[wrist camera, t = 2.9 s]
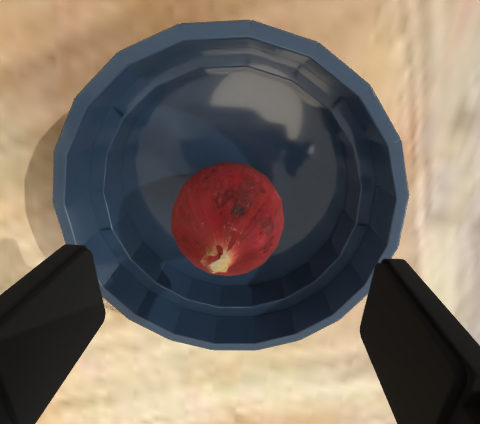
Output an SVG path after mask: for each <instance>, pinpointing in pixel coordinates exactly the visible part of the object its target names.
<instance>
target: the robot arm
mask: <svg viewBox="0 0 480 424" xmlns="http://www.w3.org/2000/svg"><path fill="white" fill-rule="evenodd" d="M104 319H105V308H104V304H103V299H102V295H101V290H100V286H99V281H98V277H97V272H96V268H95V264H94V259H93V255H92V252H91V250H88V249H87V247H86V246H84V245H73V244H65V245H64V246H62V247H61V248H59V249H58V250H57V251H56V252H54V253H53V254H52V255H51V256H49V257H48V258H47V259H46V260H44V261H43V262H42V263H40V264H39V265H38V266H37V267H35V268H34V269H33V270H32V271H30V272H29V273H28V274H27V275H25V276H24V277H23V278H21V279H20V280H19V281H18V282H16V283H15V284H14V285H13V286H11V287H10V288H9V289H8V290H6V291H5V292H4V293H2V294H1V295H0V424H35V423H36V422H37V420H38V419H39V417H40V416H41V415H42V413H43V412H44V410H45V409H46V407H47V406H48V404H49V403H50V401H51V400H52V398H53V397H54V395H55V394H56V392H57V391H58V389H59V388H60V386H61V385H62V383H63V382H64V380H65V379H66V377H67V376H68V374H69V373H70V371H71V370H72V368H73V367H74V365H75V364H76V362H77V361H78V359H79V358H80V356H81V355H82V353H83V352H84V350H85V349H86V347H87V346H88V344H89V343H90V341H91V340H92V338H93V337H94V335H95V334H96V333H97V331H98V330H99V328H100V327H101V325H102V324H103V322H104ZM360 334H361V338H362V341H363V343H364V345H365V348H366V350H367V353H368V355H369V357H370V360H371V362H372V364H373V367H374V369H375V372H376V374H377V376H378V379H379V381H380V384H381V386H382V388H383V391H384V393H385V395H386V398H387V400H388V403H389V405H390V407H391V410H392V412H393V414H394V417H395V419H396V422H397V424H480V346H479V344H478V343H477V342H476V341H475V340H474V339H473V338H472V336H471V335H470V334H469V333H468V332H467V331H466V330H465V328H464V327H463V326H462V325H461V324H460V323H459V322H458V320H457V319H456V318H455V317H454V316H453V315H452V314H451V312H450V311H449V310H448V309H447V308H446V307H445V306H444V304H443V303H442V302H441V301H440V300H439V299H438V297H437V296H436V295H435V294H434V293H433V292H432V291H431V289H430V288H429V287H428V286H427V285H426V284H425V283H424V281H423V280H422V279H421V278H420V277H419V276H418V275H417V273H416V272H415V271H414V270H413V269H412V268H411V267H410V265H409V264H408V263H407V262H406V261H405V260H403V259H383V260H382V261H381V263H377V264H376V265H375V268H374V272H373V276H372V280H371V284H370V289H369V293H368V297H367V301H366V305H365V309H364V313H363V317H362V321H361V325H360Z"/></svg>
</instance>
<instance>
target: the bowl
mask: <svg viewBox="0 0 480 424" xmlns="http://www.w3.org/2000/svg"><path fill="white" fill-rule="evenodd" d="M54 150H55V151H54V167H53V205H54V208H55V211H56V214H57V218H58V221H59V224H60V227H61V230H62V233H63V236H64V240H65V243H66V244H73V245H84V246H86V247H87V249H88V250H91V252H92V255H93V259H94V264H95V268H96V272H97V277H98V281H99V286H100V290H101V295H102V297H103V298H104V299H106V300H107V301H108V302H109V303H110V304H111V305H113V306H114V307H115V308H116V309H117V310H119V311H120V312H121V313H122V314H123V315H124V316H126V317H127V318H128V319H129V320H131V321H133V322H135V323H137V324H139V325H141V326H143V327H145V328H147V329H149V330H151V331H153V332H155V333H157V334H159V335H161V336H163V337H165V338H167V339H169V340H172V341H176V342H180V343H185V344H189V345H193V346H197V347H202V348H206V349H210V350H261V349H265V348H269V347H274V346H278V345H282V344H287V343H291V342H295V341H299V340H301V339H303V338H305V337H307V336H309V335H311V334H313V333H315V332H317V331H319V330H321V329H323V328H325V327H327V326H329V325H331V324H333V323H335V322H337V321H338V320H340V319H341V318H342V317H343V316H344V315H345V314H347V313H348V312H349V311H350V310H351V309H352V308H353V307H354V306H355V305H356V304H358V303H359V302H360V301H361V300H362V299H363V298H364V297H365V296H366V295H367V294H368V293H369V289H370V284H371V280H372V276H373V272H374V268H375V265H376V264H377V263H381V261H382V260H383V259H392V257H393V255H394V253H395V252H396V250H397V248H398V246H399V241H400V237H401V232H402V227H403V223H404V218H405V213H406V209H407V204H408V199H409V190H408V183H407V176H406V169H405V162H404V155H403V148H402V141H401V140H400V137H399V135H398V133H397V132H396V130H395V128H394V126H393V124H392V123H391V121H390V119H389V117H388V116H387V114H386V112H385V110H384V108H383V107H382V105H381V103H380V101H379V99H378V98H377V96H376V94H375V92H374V90H373V89H372V87H371V86H370V84H369V83H367V82H366V81H365V80H364V79H363V78H361V77H360V76H359V75H358V74H357V73H355V72H354V71H353V70H352V69H351V68H349V67H348V66H347V65H346V64H344V63H343V62H342V61H341V60H340V59H338V58H337V57H336V56H335V55H334V54H332V53H331V52H330V51H329V50H328V49H326V48H325V47H324V46H323V45H321V44H320V43H318V42H317V41H314V40H311V39H308V38H305V37H301V36H298V35H295V34H292V33H289V32H286V31H283V30H280V29H277V28H274V27H271V26H268V25H265V24H262V23H259V22H256V21H253V20H251V21H250V20H235V21H215V22H196V23H181V24H177V25H175V26H173V27H170V28H168V29H166V30H164V31H162V32H160V33H157V34H155V35H153V36H151V37H149V38H147V39H144V40H142V41H140V42H138V43H136V44H133V45H131V46H129V47H127V48H125V49H123V50H120V51H119V53H116V54H115V55H114V57H113V58H112V59H111V60H110V61H109V62H108V63H107V64H106V65H105V66H104V67H103V68H102V69H101V70H100V71H99V72H98V74H97V75H96V76H95V77H94V78H93V79H92V80H91V81H90V82H89V83H88V84H87V85H86V86H85V87H84V88H83V89H82V90H81V92H80V93H79V94H78V95H77V96H76V98H75V99H74V101H73V104H72V106H71V109H70V111H69V114H68V116H67V119H66V122H65V124H64V127H63V129H62V132H61V134H60V137H59V139H58V142H57V144H56V147H55V149H54ZM222 162H233V163H242V164H248V165H250V166H251V167H253V168H254V169H256V170H258V171H259V172H261V173H263V174H264V175H266V176H267V177H268V179H269V180H270V182H271V183H272V185H273V186H274V188H275V190H276V191H277V193H278V194H279V196H280V198H281V200H282V207H283V214H284V227H283V231H282V234H281V237H280V240H279V243H278V245H277V248H276V249H275V250H274V252H273V253H272V254H271V255H270V257H269V258H268V259H267V261H266V262H265V263H263V264H262V265H260V266H259V267H257V268H255V269H253V270H252V271H250V272H248V273H245V274H239V275H232V276H224V275H216V274H209V273H208V272H206V271H204V270H202V269H200V268H198V267H196V266H194V265H193V264H192V263H191V262H190V261H189V260H188V259H187V258H186V257H185V256H184V255H183V254H182V253H181V251H180V250H179V248H178V245H177V243H176V241H175V239H174V237H173V235H172V231H171V220H172V209H173V205H174V203H175V200H176V198H177V196H178V194H179V192H180V190H181V188H182V186H183V184H184V183H185V182H186V181H187V180H188V179H190V178H191V177H192V176H193V175H194V174H195V173H197V172H198V171H199V170H200V169H203V168H206V167H209V166H212V165H215V164H218V163H222Z"/></svg>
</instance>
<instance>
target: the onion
mask: <svg viewBox="0 0 480 424" xmlns="http://www.w3.org/2000/svg"><path fill="white" fill-rule="evenodd" d="M283 227H284V214H283V207H282V200H281V198H280V196H279V194H278V193H277V191H276V190H275V188H274V186H273V185H272V183H271V182H270V180H269V179H268V177H267V176H266V175H264V174H263V173H261V172H259V171H258V170H256V169H254V168H253V167H251V166H250V165H248V164H242V163H233V162H222V163H218V164H215V165H212V166H209V167H206V168H203V169H200V170H199V171H198V172H197V173H195V174H194V175H193V176H192V177H191V178H190V179H188V180H187V181H186V182H185V183H184V184H183V186H182V188H181V190H180V192H179V194H178V196H177V198H176V200H175V203H174V205H173V209H172V220H171V231H172V235H173V237H174V239H175V241H176V243H177V245H178V248H179V250H180V251H181V253H182V254H183V255H184V256H185V257H186V258H187V259H188V260H189V261H190V262H191V263H192V264H193V265H194V266H196V267H198V268H200V269H202V270H204V271H206V272H208V273H209V274H216V275H224V276H232V275H239V274H245V273H248V272H250V271H252V270H253V269H255V268H257V267H259V266H260V265H262V264H263V263H265V262H266V261H267V259H268V258H269V257H270V255H271V254H272V253H273V252H274V250H275V249H276V248H277V245H278V243H279V240H280V237H281V234H282V231H283Z"/></svg>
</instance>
